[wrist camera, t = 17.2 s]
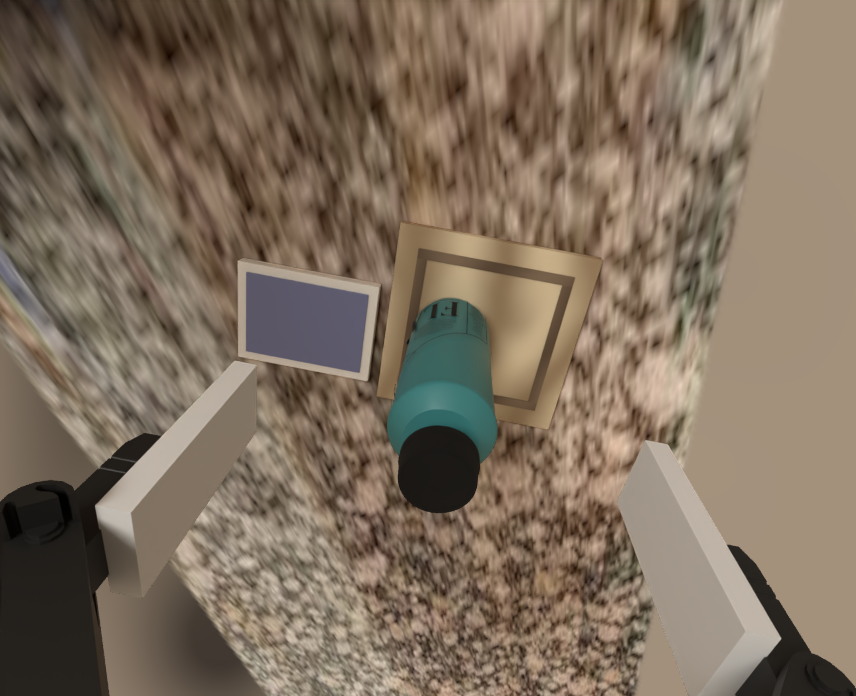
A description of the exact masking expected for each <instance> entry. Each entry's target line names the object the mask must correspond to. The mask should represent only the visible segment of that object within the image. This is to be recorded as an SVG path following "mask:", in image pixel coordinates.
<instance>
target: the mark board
mask: <svg viewBox="0 0 856 696" xmlns="http://www.w3.org/2000/svg"><path fill="white" fill-rule="evenodd" d="M602 262H603V260H602V259H601V258H599V257H594V256H588V255H583V254H577V253H572V252H567V251H561V250H556V249H551V248H545V247H540V246H535V245H529V244H524V243H518V242H513V241H508V240H502V239H497V238H492V237H486V236H481V235H476V234H470V233H465V232H459V231H454V230H449V229H443V228H438V227H433V226H427V225H422V224H416V223H411V222H406V221H402V222H401V224H400V232H399V239H398V246H397V253H396V261H395V268H394V275H393V282H392V290H391V297H390V304H389V311H388V318H387V326H386V333H385V340H384V347H383V355H382V362H381V369H380V376H379V383H378V391H377V397H382V398H387V399H393V400H394V396H395V395H394V392H395V393H396V389H395V388H397V384H398V383H397V378H398V381H399V377H400V374H401V370H402V366H403V363H404V362H403V358H405V355H406V353H405V352H407V348H408V344H407V340H408V339H409V341H410V332H411V333H412V327H411V326H412V324H413V322H414V320H416V318H417V316H418V315H419V314H417V313H420V312H421V311H422V310H423V308H425V307H426V306H427V305H429V304H430V302H431V303H432V301H433V302H434V300H435V301H437V299H438V300H439V299H441V298H442V299H443V298H456V299H458V298H459V299H461V300H462V299H463V300H464V301H466V302H467V301H468V303H469V302H470V304H471V303H472V305H473V306H474V305H475V306H474V307H476V308H477V309H478V308H479V309H480V310H481V311H480V310H479V309H478V310H479V311H480V312H481V313H482V315H483V316H484V315H485V316H484V318H485V317H486V322H487V325H488V330H489V343H490V356H491V368H492V369H491V376H492V377H493V378H492V387H493V397H494V408H495V416H496V420H501V421H506V422H511V423H517V424H522V425H527V426H532V427H537V428H542V429H548V428H549V425H550V422H551V419H552V416H553V413H554V410H555V407H556V404H557V401H558V398H559V395H560V391H561V388H562V385H563V382H564V379H565V376H566V373H567V370H568V367H569V364H570V361H571V358H572V355H573V352H574V348H575V345H576V342H577V339H578V336H579V333H580V330H581V327H582V324H583V321H584V318H585V315H586V312H587V309H588V305H589V302H590V299H591V296H592V293H593V290H594V287H595V284H596V281H597V278H598V275H599V272H600V269H601V266H602ZM428 303H429V304H428ZM425 305H426V306H425ZM415 316H416V317H415ZM410 329H411V330H410ZM490 341H491V342H490ZM406 344H407V345H406ZM406 346H407V347H406ZM405 347H406V348H405ZM491 348H492V349H491ZM491 354H492V355H491ZM403 356H404V357H403ZM492 359H493V360H492ZM399 369H400V370H399ZM399 371H400V373H398V372H399ZM397 375H398V376H397ZM395 384H396V386H395ZM394 387H395V388H394ZM393 389H395V390H393Z"/></svg>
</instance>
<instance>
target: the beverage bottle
mask: <svg viewBox="0 0 856 696" xmlns="http://www.w3.org/2000/svg"><path fill="white" fill-rule="evenodd" d="M428 304H429V303H428ZM425 306H426V305H425ZM474 306H475V305H474ZM474 306H473V305H472V303H471V304H470V302H469V303H468V301H467V302H466V301H464V300H463V299H462V300H461V299H459V298H458V299H456V298H443V299H442V298H441V299H439V300H438V299H437V301H435V300H434V302H433V301H432V303H431V302H430V304H429V305H427V306H426V307H425V308H423V310H422V311H421V312H420V313H417V314H419V315H418V316H417V318H416V320H414V322H413V324H412V326H411V327H412V333H411V332H410V341H409V339H408V340H407V344H408V348H407V352H405V353H406V355H405V358H403V362H404V363H403V366H402V370H401V374H400V377H399V381H398V378H397V383H398V384H397V388H395V387H394V388H395V389H396V393H395V392H394V395H395V396H394V401H393V405H392V404H391V405H392V407H391V409H390V412H389V416H388V421H387V431H388V436H389V440H390V443H391V445H392V447H393V448H394V450H395V452H396V453H397V454H398V455H399V460H398V465H399V470H398V484H399V487H400V490H401V492H402V494H403V495H404V497H405V498H406V499H407V501H409V502H410V503H411V504H412V505H414V506H415V507H417V508H419V509H421V510H424V511H427V512H432V513H447V512H451V511H455V510H457V509H460V508H461V507H463V506H465V505H466V504H467V503H468V502H469V501H470V500H471V499H472V497H473V496H474V494H475V491H476V489H477V483H478V475H479V470H480V463H482V462H483V461H484V460H485V459H486V458H487V457H488V455H489V454H490V453H491V451H492V449H493V448H494V445H495V443H496V439H497V432H498V429H497V420H496V416H495V408H494V397H493V387H492V378H493V377H492V376H491V369H492V368H491V356H490V343H489V330H488V325H487V322H486V317H485V318H484V316H485V315H484V316H483V315H482V313H481V312H480V311H481V310H480V309H479V308H478V309H479V310H480V311H479V310H478V309H477V308H476V307H474ZM415 317H416V316H415ZM410 330H411V329H410ZM490 342H491V341H490ZM407 344H406V345H407ZM406 347H407V346H406ZM406 347H405V348H406ZM491 349H492V348H491ZM491 355H492V354H491ZM403 357H404V356H403ZM492 360H493V359H492ZM399 370H400V369H399ZM398 373H400V371H399V372H398ZM397 376H398V375H397ZM395 386H396V384H395ZM395 389H393V390H395Z"/></svg>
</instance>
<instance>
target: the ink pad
mask: <svg viewBox="0 0 856 696" xmlns="http://www.w3.org/2000/svg"><path fill="white" fill-rule="evenodd" d="M380 292H381V284H379V283H374V282H369V281H363V280H358V279H353V278H348V277H342V276H337V275H332V274H326V273H321V272H316V271H311V270H305V269H300V268H295V267H289V266H284V265H279V264H274V263H268V262H263V261H258V260H252V259H247V258H242V259H240V260H238V356H239V357H244V358H249V359H254V360H259V361H264V362H270V363H275V364H280V365H285V366H290V367H296V368H301V369H306V370H311V371H316V372H321V373H327V374H332V375H337V376H342V377H347V378H353V379H358V380H363V381H368V379H369V377H370V370H371V362H372V354H373V346H374V339H375V331H376V323H377V315H378V307H379V300H380Z"/></svg>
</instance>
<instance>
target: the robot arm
mask: <svg viewBox="0 0 856 696" xmlns="http://www.w3.org/2000/svg"><path fill="white" fill-rule="evenodd" d="M256 410H257V365H255V364H249V363H244V362H239V361H234V362H233V363H232V364H231V365H230V366H229V367H228V368H227V369H226V370H225V371H224V372H223V373H222V374H221V375H220V376H219V377H218V378H217V379H216V380H215V382H214V383H213V384H212V385H211V386H210V387H209V388H208V389H207V390H206V391H205V392H204V393H203V394H202V395H201V396H200V397H199V398H198V399H197V400H196V401H195V402H194V403H193V404H192V405H191V406H190V407H189V409H188V410H187V411H186V412H185V413H184V414H183V415H182V416H181V417H180V418H179V419H178V420H177V421H176V422H175V423H174V424H173V425H172V426H171V427H170V428H169V429H168V430H167V431H166V432H165V433H164V434H163V436H158V435H153V434H147V433H143V434H142V435H140V436H138V437H136V438H134V439H132V440H130V441H128V442H126V443H125V444H124V445H123V446H121V447H120V448H119V449H118V450H117V451H116V452H115V453H114V454H113V455H112V457H111V459H110V458H109V459H108V460H107V461H106V462H105V463H104V464H102V465H101V466H100V469H97V470H96V471H95V472H94V473H93V474H92V475H91V476H90V477H89V478H88V479H87V480H86V481H85V482H84V483H82V484H81V485H80V486H79V487H78V488H77V489H76V490H75V491H74V489H73V487H72V486H71V485H69V484H67V483H65V482H63V481H53V480H49V481H42V482H35V483H32V484H29V485H26V486H23V487H20V488H18V489H17V490H15V491H13V492H12V493H10V494H8V495H7V496H6V497H5V498H4V499H3V500H2V501H1V502H0V696H109V689H108V681H107V674H106V666H105V658H104V650H103V643H102V634H101V627H100V619H99V612H98V604H97V597H96V592H95V591H96V590H97V589H98V588H99V586H100V585H101V584H102V582H103V581H104V580H105V579H106V577H107V576H108V581H109V586H110V591H111V592H112V593H118V594H123V595H128V596H133V597H138V598H143V597H144V596H145V594H146V593H147V591H148V590H149V588H150V587H151V585H152V584H153V582H154V581H155V579H156V578H157V576H158V575H159V573H160V572H161V571H162V569H163V568H164V566H165V565H166V563H167V562H168V560H169V559H170V557H171V556H172V555H173V553H174V552H175V550H176V549H177V547H178V546H179V544H180V543H181V541H182V540H183V538H184V537H185V535H186V534H187V532H188V531H189V530H190V528H191V527H192V525H193V524H194V522H195V521H196V519H197V518H198V516H199V515H200V513H201V512H202V510H203V509H204V508H205V506H206V505H207V503H208V502H209V500H210V499H211V497H212V496H213V494H214V493H215V491H216V490H217V488H218V487H219V486H220V484H221V483H222V481H223V480H224V478H225V477H226V475H227V474H228V472H229V471H230V469H231V468H232V466H233V465H234V463H235V462H236V461H237V459H238V458H239V456H240V455H241V453H242V452H243V450H244V449H245V447H246V446H247V444H248V443H249V441H250V440H251V439H252V437H253V436H254V434H255V433H256ZM617 504H618V506H619V509H620V512H621V514H622V517H623V520H624V523H625V525H626V528H627V531H628V533H629V536H630V539H631V542H632V544H633V547H634V550H635V552H636V555H637V558H638V561H639V563H640V566H641V569H642V571H643V574H644V577H645V580H646V582H647V585H648V588H649V590H650V593H651V596H652V599H653V601H654V604H655V607H656V610H657V612H658V615H659V618H660V620H661V623H662V626H663V628H664V631H665V634H666V637H667V639H668V642H669V645H670V647H671V650H672V653H673V656H674V658H675V661H676V664H677V666H678V669H679V672H680V675H681V677H682V680H683V683H684V685H685V688H686V691H687V694H688V696H856V688H855V686H854V685H853V684H852V683H851V682H850V680H849V679H848V678H847V677H846V676H845V675H844V674H843V673H842V672H841V671H840V670H838V669H837V668H836V667H835V666H834V665H832V664H831V663H830V662H828V661H827V660H825V659H823V658H821V657H819V656H818V655H815V654H812V653H811V651H810V650H809V648H808V647H807V645H806V643H805V642H804V640H803V639H802V637H801V635H800V634H799V632H798V631H797V629H796V627H795V626H794V624H793V623H792V621H791V619H790V618H789V616H788V615H787V613H786V611H785V610H784V608H783V607H782V605H781V603H780V602H779V600H777V599H776V596H775V594H774V592H773V591H772V589H771V587H770V586H769V585H767V583H766V582H767V581H766V579H765V578H764V576H763V575H762V573H761V571H760V570H759V568H758V567H757V565H756V564H755V563H754V562H753V561H752V560H751V559H750V558H749V557H748V556H747V555H746V554H745V553H744V552H743V551H742V550H741V549H740V548H739V547H737V546H732V545H727V544H726V543H725V541H724V540H723V538H722V536H721V534H720V533H719V531H718V529H717V528H716V526H715V524H714V523H713V521H712V519H711V517H710V516H709V514H708V512H707V511H706V509H705V507H704V505H703V504H702V502H701V500H700V499H699V497H698V495H697V493H696V492H695V490H694V488H693V487H692V485H691V483H690V482H689V480H688V478H687V476H686V475H685V473H684V471H683V470H682V468H681V466H680V464H679V463H678V461H677V459H676V458H675V456H674V454H673V452H672V451H671V449H670V447H669V446H668V444H663V443H657V442H652V441H647V440H645V442H644V444H643V446H642V448H641V450H640V453H639V455H638V457H637V459H636V461H635V463H634V465H633V468H632V470H631V472H630V474H629V476H628V478H627V481H626V483H625V485H624V487H623V489H622V491H621V494H620V496H619V498H618V500H617Z"/></svg>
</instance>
